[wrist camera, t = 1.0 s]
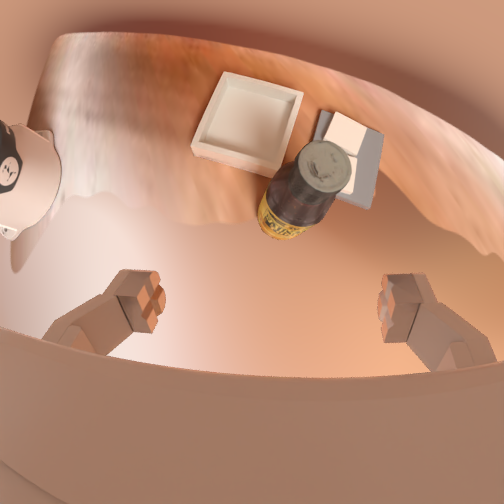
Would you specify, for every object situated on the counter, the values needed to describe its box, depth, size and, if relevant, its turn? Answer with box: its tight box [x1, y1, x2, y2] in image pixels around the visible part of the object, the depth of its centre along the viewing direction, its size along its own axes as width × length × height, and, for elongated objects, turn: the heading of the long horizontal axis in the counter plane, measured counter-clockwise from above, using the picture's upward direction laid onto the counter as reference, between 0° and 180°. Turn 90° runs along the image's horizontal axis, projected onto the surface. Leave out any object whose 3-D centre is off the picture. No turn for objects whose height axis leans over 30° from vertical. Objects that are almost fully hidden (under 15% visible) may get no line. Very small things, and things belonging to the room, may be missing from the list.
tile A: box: [340, 155, 357, 195], centre depth 39 cm, size 5×5×1 cm
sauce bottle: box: [257, 140, 352, 240], centre depth 30 cm, size 6×6×20 cm
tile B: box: [323, 112, 367, 157], centre depth 39 cm, size 5×5×1 cm
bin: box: [190, 71, 304, 178], centre depth 39 cm, size 12×13×4 cm
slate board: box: [313, 110, 384, 210], centre depth 40 cm, size 10×12×1 cm
